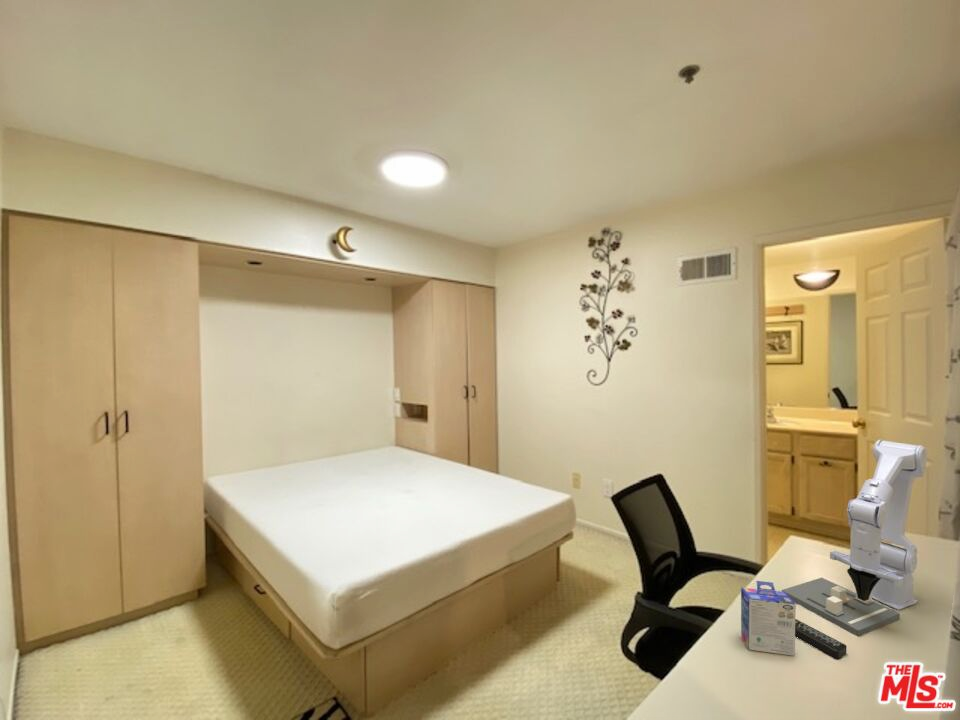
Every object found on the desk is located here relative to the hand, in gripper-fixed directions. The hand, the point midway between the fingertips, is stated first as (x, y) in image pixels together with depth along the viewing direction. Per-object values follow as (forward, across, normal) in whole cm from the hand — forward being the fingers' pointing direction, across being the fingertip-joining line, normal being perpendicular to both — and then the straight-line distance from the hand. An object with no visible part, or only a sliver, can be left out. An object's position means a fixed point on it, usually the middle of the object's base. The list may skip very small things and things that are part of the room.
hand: (863, 598), depth 108 cm
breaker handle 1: (+4, -3, -6) cm, 8 cm away
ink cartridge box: (+6, -2, -33) cm, 34 cm away
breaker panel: (+5, -6, 0) cm, 8 cm away
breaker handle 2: (+4, -3, +7) cm, 8 cm away
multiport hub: (+6, +1, -21) cm, 22 cm away
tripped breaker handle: (+4, -5, 0) cm, 7 cm away
